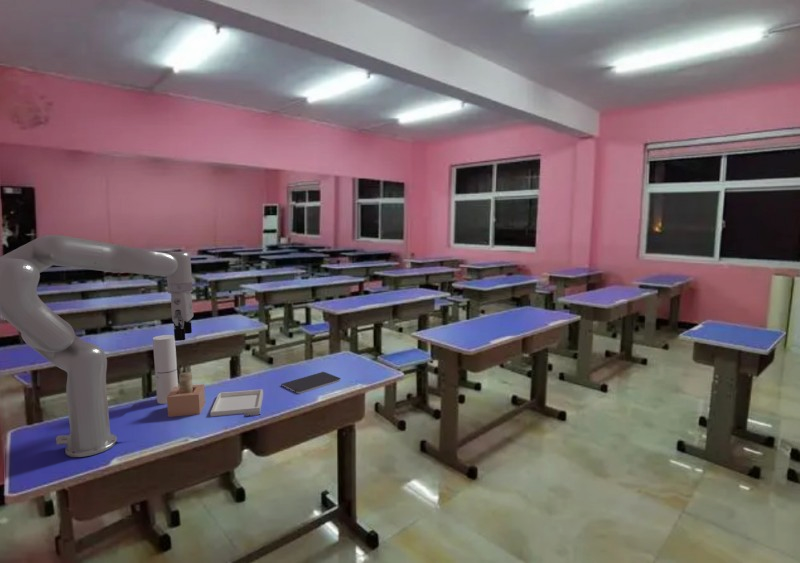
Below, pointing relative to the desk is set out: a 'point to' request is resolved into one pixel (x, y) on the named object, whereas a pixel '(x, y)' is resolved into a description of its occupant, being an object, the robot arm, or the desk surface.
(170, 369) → the cylindrical container
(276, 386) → the desk surface
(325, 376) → the notebook
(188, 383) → the dowel pin
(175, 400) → the deep holder
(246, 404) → the tray
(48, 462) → the desk surface
